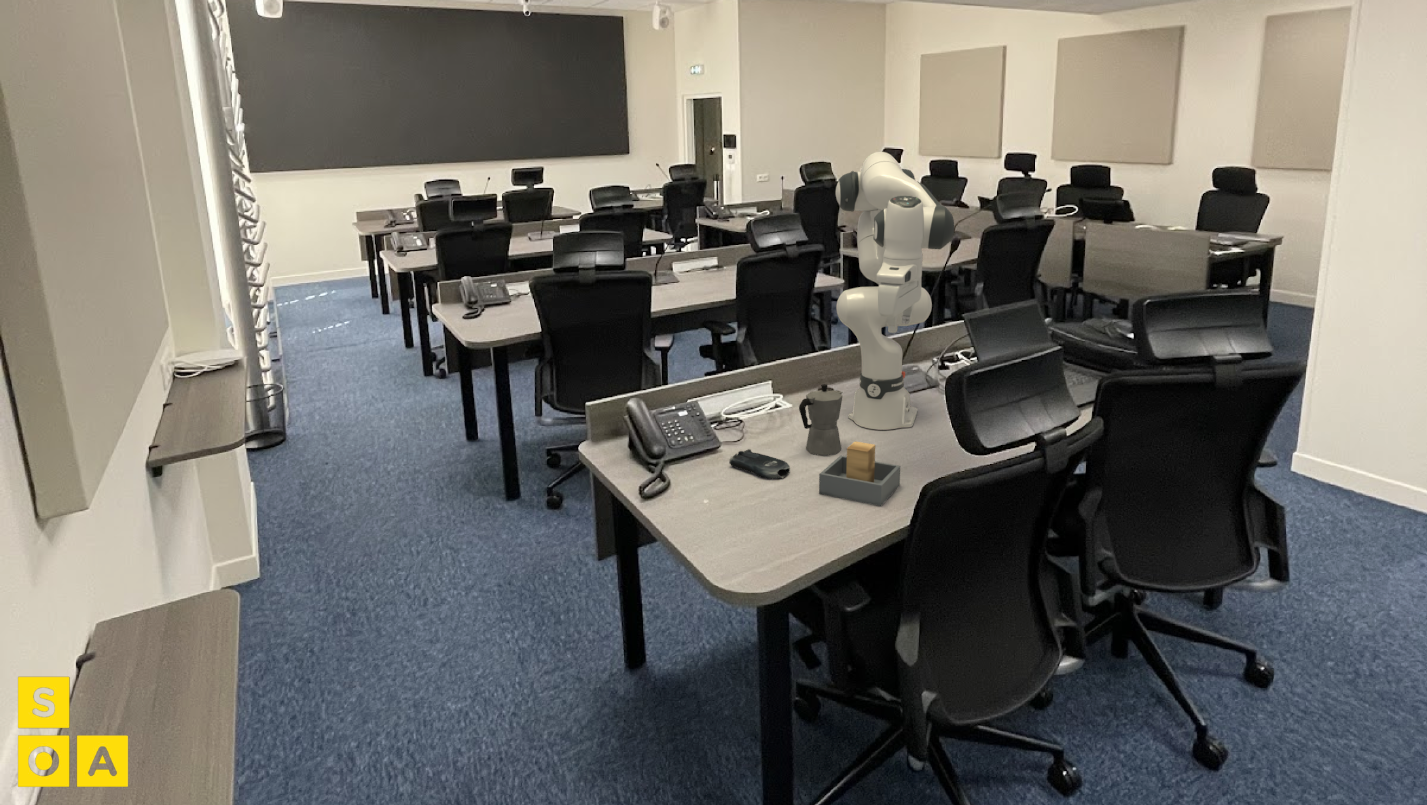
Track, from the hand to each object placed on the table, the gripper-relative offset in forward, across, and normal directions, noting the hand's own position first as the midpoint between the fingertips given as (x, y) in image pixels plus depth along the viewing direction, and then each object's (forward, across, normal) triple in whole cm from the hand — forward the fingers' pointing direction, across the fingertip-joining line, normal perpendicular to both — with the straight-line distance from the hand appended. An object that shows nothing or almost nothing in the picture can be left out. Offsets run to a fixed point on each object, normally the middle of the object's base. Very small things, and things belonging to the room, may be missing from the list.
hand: (899, 327), depth 204 cm
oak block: (+35, +17, -2) cm, 38 cm away
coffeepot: (+36, -2, -20) cm, 42 cm away
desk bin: (+35, +17, -2) cm, 39 cm away
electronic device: (+36, +16, -28) cm, 49 cm away
